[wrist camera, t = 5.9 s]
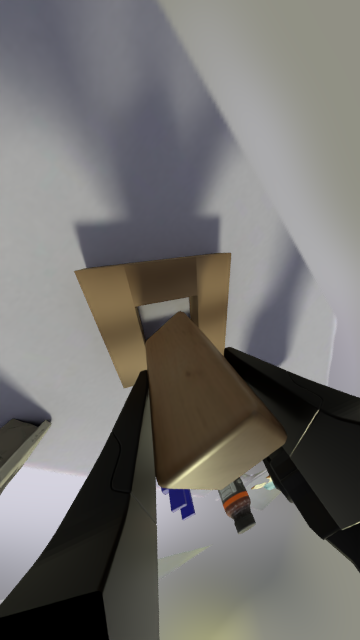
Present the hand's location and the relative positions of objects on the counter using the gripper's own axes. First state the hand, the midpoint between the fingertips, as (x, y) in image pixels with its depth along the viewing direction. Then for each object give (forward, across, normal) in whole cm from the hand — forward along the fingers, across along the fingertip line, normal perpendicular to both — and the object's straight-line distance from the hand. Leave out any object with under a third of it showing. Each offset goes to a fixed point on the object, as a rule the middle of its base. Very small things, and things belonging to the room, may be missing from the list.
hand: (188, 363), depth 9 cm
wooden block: (+3, 0, 0) cm, 3 cm away
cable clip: (+8, +4, +44) cm, 45 cm away
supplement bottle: (+8, -8, +43) cm, 44 cm away
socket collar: (+7, 0, 0) cm, 7 cm away
